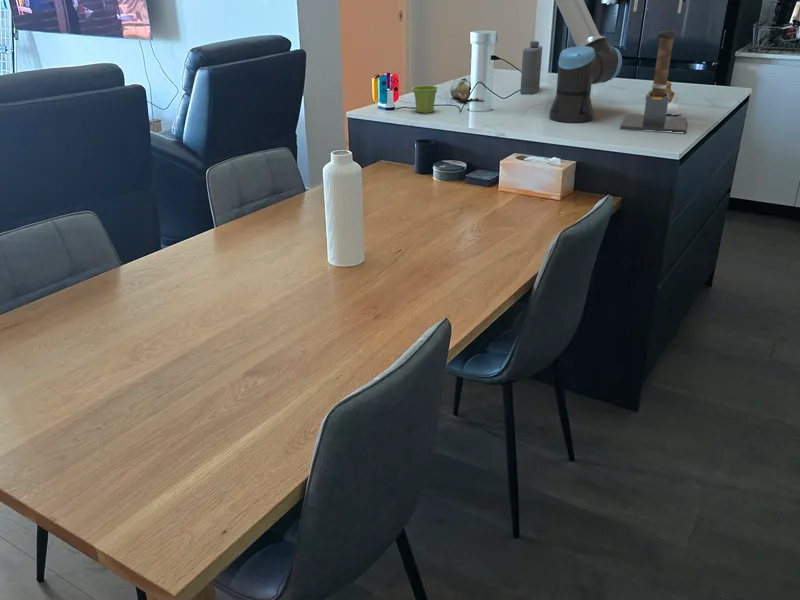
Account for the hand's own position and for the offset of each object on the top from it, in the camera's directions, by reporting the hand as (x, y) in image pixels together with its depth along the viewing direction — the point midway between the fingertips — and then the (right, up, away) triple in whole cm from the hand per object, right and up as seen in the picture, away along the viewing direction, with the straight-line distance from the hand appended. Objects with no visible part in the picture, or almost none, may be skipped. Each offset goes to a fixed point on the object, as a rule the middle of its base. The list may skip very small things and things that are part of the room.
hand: (656, 11), depth 225 cm
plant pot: (-74, -23, +35) cm, 85 cm away
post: (+3, -27, +7) cm, 28 cm away
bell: (+20, -15, +49) cm, 55 cm away
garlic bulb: (+14, -27, +25) cm, 39 cm away
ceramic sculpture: (-57, -13, +54) cm, 80 cm away
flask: (-28, -6, +68) cm, 74 cm away
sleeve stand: (+3, -34, +11) cm, 36 cm away
